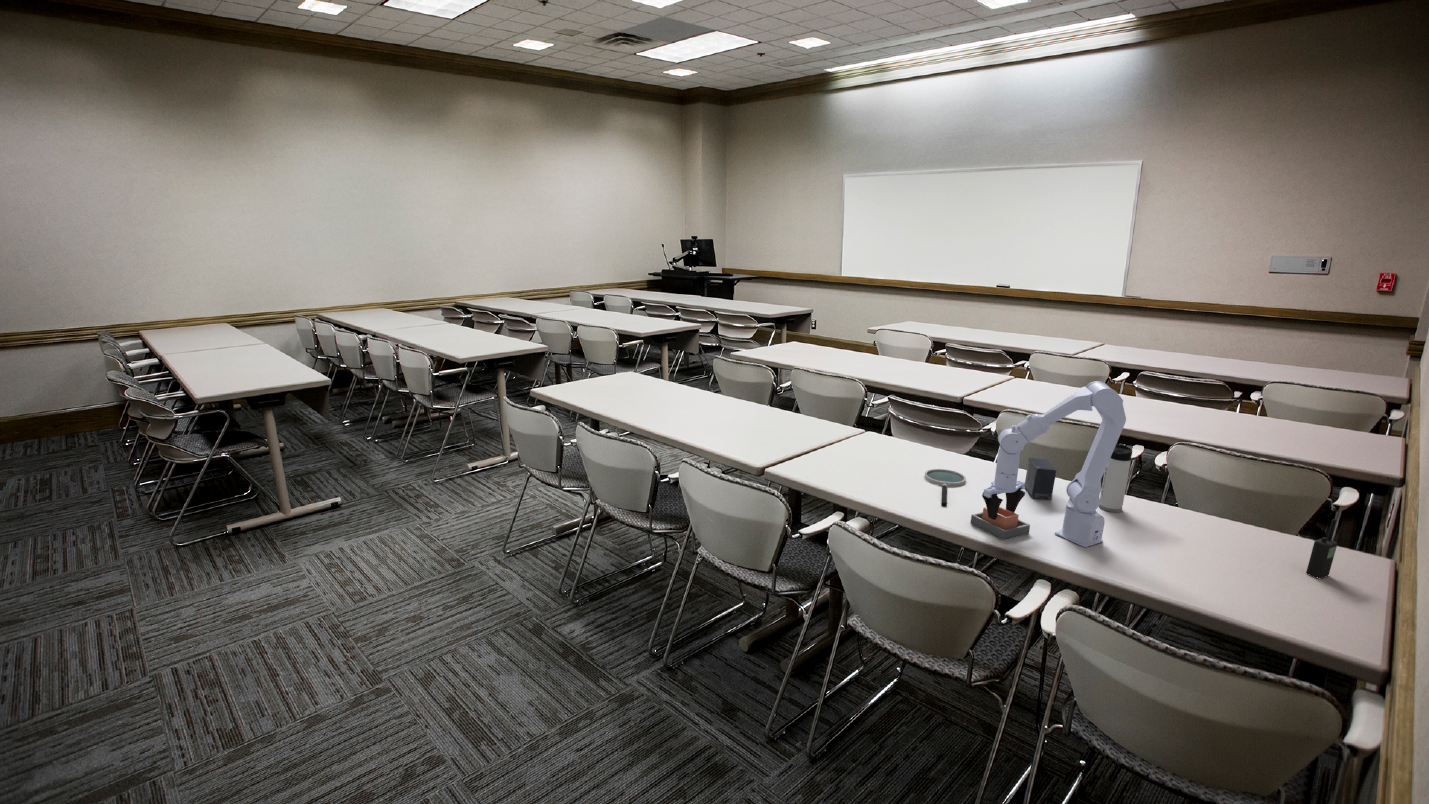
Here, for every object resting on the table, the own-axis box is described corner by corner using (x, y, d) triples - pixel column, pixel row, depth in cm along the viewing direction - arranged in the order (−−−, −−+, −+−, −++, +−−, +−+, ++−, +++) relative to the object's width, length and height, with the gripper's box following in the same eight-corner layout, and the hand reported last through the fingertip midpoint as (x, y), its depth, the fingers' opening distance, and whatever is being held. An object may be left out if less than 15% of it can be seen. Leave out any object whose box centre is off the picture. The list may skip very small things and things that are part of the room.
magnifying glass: (921, 504, 210) (922, 499, 210) (925, 471, 239) (925, 466, 238) (966, 511, 206) (967, 505, 206) (964, 476, 234) (965, 471, 234)
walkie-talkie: (1319, 579, 167) (1334, 524, 163) (1303, 573, 170) (1318, 518, 166) (1330, 575, 169) (1345, 521, 165) (1314, 569, 172) (1328, 515, 168)
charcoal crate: (1028, 534, 190) (1030, 524, 190) (1003, 541, 186) (1004, 531, 185) (994, 518, 201) (996, 508, 200) (970, 524, 197) (971, 514, 196)
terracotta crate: (1016, 530, 191) (1018, 514, 190) (1004, 534, 189) (1006, 518, 188) (993, 520, 198) (995, 504, 197) (981, 523, 196) (983, 507, 194)
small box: (1053, 500, 213) (1057, 469, 210) (1031, 498, 214) (1035, 468, 212) (1044, 488, 223) (1048, 458, 220) (1023, 486, 224) (1027, 457, 222)
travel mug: (1124, 508, 208) (1135, 447, 203) (1118, 514, 204) (1130, 452, 198) (1101, 502, 212) (1112, 442, 207) (1096, 508, 208) (1106, 447, 202)
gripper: (1012, 463, 195) (1006, 506, 199) (977, 470, 189) (971, 515, 193) (1033, 470, 189) (1027, 515, 193) (997, 479, 183) (991, 524, 186)
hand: (1000, 515), depth 192 cm, fingers open, 7 cm apart
